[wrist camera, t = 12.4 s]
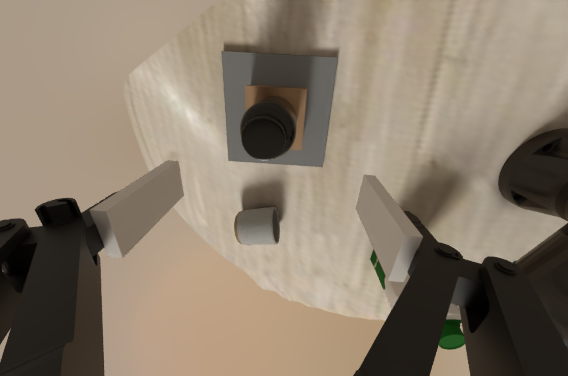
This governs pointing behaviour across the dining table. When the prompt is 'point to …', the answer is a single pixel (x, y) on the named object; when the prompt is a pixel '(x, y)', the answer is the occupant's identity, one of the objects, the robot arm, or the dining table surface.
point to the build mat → (285, 73)
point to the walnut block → (291, 94)
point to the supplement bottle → (268, 128)
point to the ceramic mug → (257, 226)
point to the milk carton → (451, 330)
